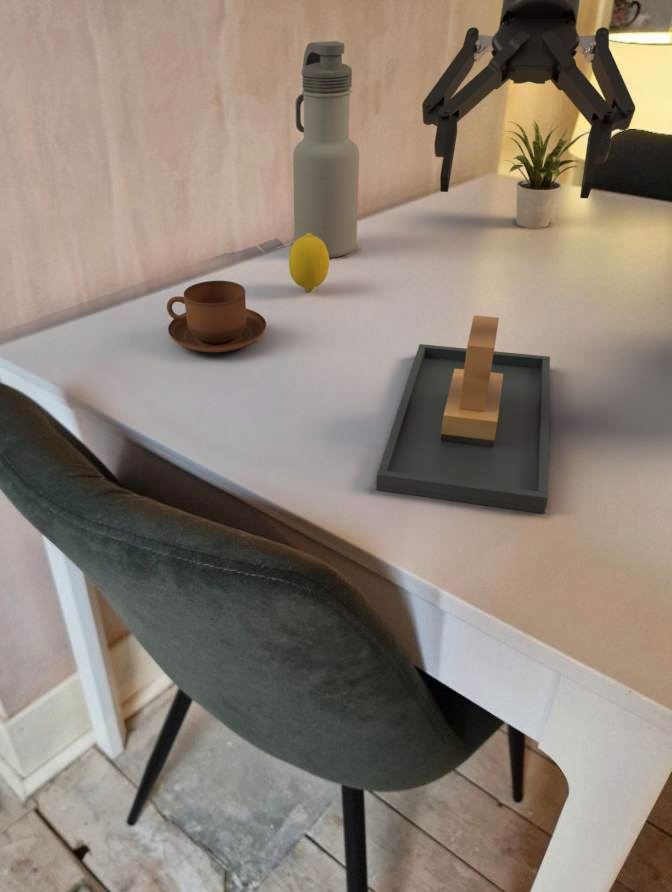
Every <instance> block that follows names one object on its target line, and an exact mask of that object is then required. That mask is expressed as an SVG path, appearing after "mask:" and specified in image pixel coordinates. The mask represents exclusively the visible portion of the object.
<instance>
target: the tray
mask: <svg viewBox="0 0 672 892" xmlns="http://www.w3.org/2000/svg"><path fill="white" fill-rule="evenodd" d="M466 352H467V347H455V346H445V345H444V346H443V345H433V344H424V343H423V344H422V343H419V345H418V348H417V350H416V354H415V357H414V360H413V362H412V363H413V364H412V366H411V369H410V371H409V375H408V378H407V381H406V384H405V388H404V390H403V394H402V397H401V399H400V402H399V405H398V409H397V412H396V415H395V418H394V421H393V425H392V427H391V430H390V433H389V436H388V439H387V442H386V446H385V448H384V451H383V454H382V458H381V461H380V464H379V467H378V471H377V473H376V483H375V489H376V491H383V492H390V493H397V494H403V495H410V496H419V497H425V498H431V499H439V500H445V501H446V500H447V501H453V502H460V503H467V504H468V503H469V504H473V505H474V504H475V505H481V506H488V507H493V508H501V509H502V508H503V509H509V510H510V509H511V510H516V511H523V512H531V513H535V514H536V513H538V514H545V513H546V508H547V504H548V500H549V499H548V498H549V453H550V451H549V447H550V446H549V445H550V443H549V442H550V387H551V386H550V383H551V381H550V380H551V356H547V355H536V354H529V353H517V352H507V351H498V350H497V351H495V350H494V354H493V361H492V367H491V372H493V373H502V374H503V381H502V389H501V397H500V406H499V414H498V422H497V428H496V434H495V440H494V446H493V447H485V446H477V445H469V444H461V443H453V442H445V441H441V432H442V424H443V415H444V411H445V407H446V403H447V398H448V394H449V390H450V385H451V381H452V377H453V373H454V369H464V367H465V360H466Z"/></svg>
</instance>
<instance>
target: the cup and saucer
mask: <svg viewBox="0 0 672 892" xmlns="http://www.w3.org/2000/svg"><path fill="white" fill-rule="evenodd" d="M246 299H247V298H246V289H245V287H244V286H243V285H242V284H240V283H237V282H234V281H229V280H207V281H203V282H202V281H201V282H198V283H194V284H192V285H189V286H188V287H187V288H186V289H184V292H183V296H180V295H179V296H178V295H177V296H172V297H171V298H169V300H168V301H167V303H166V311H167V314H168V315H169V316H170V317H171V318H172V320H171V321H170V322H169V324H168V326H167V331H168V334H169V336H170V338H171V340H173V342H175V343H177V344H178V345H179V346H181V347H182V348H185V349H188V350H191V351H195V352H201V353H224V352H225V353H226V352H232V351H236V350H239V349H243V348H246V347H248V346H250V345H252V344H253V343H255V342H256V341H258V340H259V339H260V338H261V337H262V336H263V335H264V333H265V331H266V327H267V322H266V319H265V318H264V316H263V315H261V314H260V313H258V312H257V311H255V310H252V309H249V308H247V305H246V304H247V303H246ZM175 303H181V304H183V305H184V308H185V312H184V313H181V314H177V313H176V312H175V311H174V310H173V304H175Z"/></svg>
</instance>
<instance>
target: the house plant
mask: <svg viewBox="0 0 672 892" xmlns="http://www.w3.org/2000/svg"><path fill="white" fill-rule="evenodd" d="M557 120H558V118H556V119H555V120H554V121H553V123H552V125H551V126H550V129H549V132H548V134H547V135H546V137H545V139H544V140H543V138H542V135H541V132H540V129H539V125H538V123H537V122H536V121H535V120H533V123H531V124H532V128H533V129H534V130H533V131H534V133H535V134H534V140H533V141H532V142H531V143H532V148H531V144H530V142H529V139H528V136H527V133H526V131H525V130H524V128H523V127H522V126H521V125H520V124H518V123H516V122H513V121H510V120H508V122H509V123H512V124H514V125H516V126H517V127H518V128H519V130H520V131H521V133H522V135H521V134H519V133H517V132H515V131H510V130H506V132H508V133H513V134H514V135H516V136H517V137H518V138H520V140H521V142H522V143H523V145H524V146H525V148H526V150H527V153H528V155H529V158H530V160H531V162H530V160H529V159H528V158H527V157H526V155H525V154H526V153H525V151H524V150H523V148H522V146H521V145H520V143H519V142H518V141H517V140H516V139H514V138H513V137H509V139H511V140H513V141H514V142H515V143H516V145H517V146H518V147H519V150H520V151H521V153H522V154H520V155H519V154H518V155H516V156H515V157H514V160H518V161H519V162H520V164H519V162H517V163H514V162H512V161H511V160H508V159H505V161H506V162H510V163H512V164H513V165H512V166H511V167H510V170H509V172H508V174H510V173H511V172H513V171H515V170H518V171H519V172H520V173H521V175H522V176H523V177H524V179H522V180H520V181H519V180H518V182H517V183H516V224H517V225H518V226H520V227H522V228H529V229H541V228H545V227H548V226H549V223H550V220H551V218H552V214H553V212H554V209H555V206H556V203H557V200H558V197H559V194H560V191H561V189H562V185H561V183H559V182H558V181H556V180H557V178H558V177H559V176H560V175H561V174H562V173H563V172H565V171H567V170H569V169H572V168H573V169H574V168H578V166H577V165H571V166H568V167H566V168H564V169H563V170H560V168H561V167H562V166H564V165H566V164H569V163H570V164H571V163H573V162H574V163H576V162H579V160H575V159H565V160H561V159H560V158H561V157H562V156H563V154H564V153H565V152H566V151H567V150H569V148H570V147H571V146H573V145H574V144H575V143H576V142H577V141H579V139H581V138H582V137H583V136H585V135H587V134H589V133H590V131H587V132H583V133H582V134H579V135H578V136H577V137H575V138H574V139H573V140H572V141H571V142H569V143H568V141H570V140H571V138H568V139H565V137H566V134H567V132H568V128H566V130H565V131H564V132H563V134H562V135H561V137H560V138H559V139H558V142H557V144H556V145H555V147H554V148H553V149H552V151H551V152H550V153H547V155H546V152H547V147H548V144H549V142H550V139H551V136H552V134H553V132H554V131H556V129H557V128H558V126H557V127H555V128H554V129H552V128H553V126H554V124H555V122H556V121H557ZM567 143H568V144H567ZM566 144H567V145H566ZM565 145H566V146H565ZM532 149H533V151H532ZM545 155H546V157H545ZM531 163H532V164H531ZM522 167H524V168H525V171H526V174H527V176H528V178H527V176H526V174H524V172H523V171H522V169H521V168H522ZM553 177H554V178H553Z"/></svg>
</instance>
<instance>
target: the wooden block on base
mask: <svg viewBox="0 0 672 892" xmlns="http://www.w3.org/2000/svg"><path fill="white" fill-rule="evenodd" d="M499 321H500V317H497V316H488V315H487V316H484V315H473V317H472V323H471V326H470V331H469V335H468V340H467V346H466V349H467V352H466V360H465V367H464V369H454V373H453V377H452V381H451V385H450V390H449V394H448V398H447V403H446V407H445V411H444V415H443V424H442V432H441V441H445V442H453V443H461V444H469V445H477V446H485V447H493V446H494V440H495V434H496V428H497V422H498V414H499V406H500V397H501V389H502V381H503V374H502V373H493V372H491V367H492V361H493V354H494V351H495V347H496V340H497V333H498V326H499Z"/></svg>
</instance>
